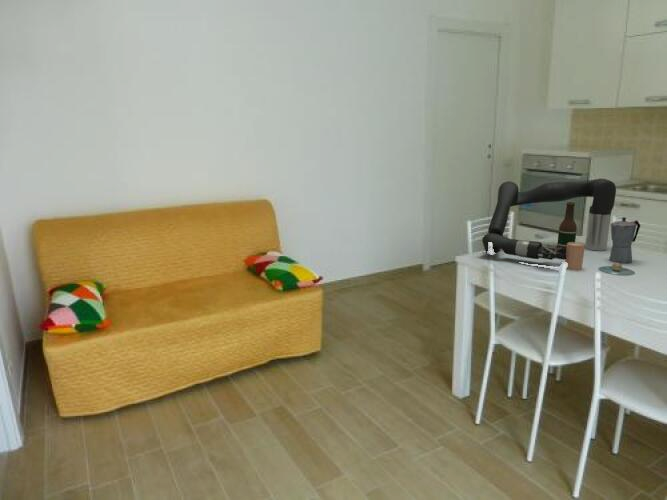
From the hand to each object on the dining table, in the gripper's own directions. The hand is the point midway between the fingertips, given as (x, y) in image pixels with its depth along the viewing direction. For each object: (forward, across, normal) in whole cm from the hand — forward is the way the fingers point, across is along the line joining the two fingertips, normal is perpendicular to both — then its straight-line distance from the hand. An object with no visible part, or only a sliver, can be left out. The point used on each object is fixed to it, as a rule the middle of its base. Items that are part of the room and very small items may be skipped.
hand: (568, 254), depth 204 cm
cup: (+2, 0, -6) cm, 6 cm away
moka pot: (+16, -24, -7) cm, 29 cm away
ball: (+17, -6, -5) cm, 19 cm away
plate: (+17, -6, -6) cm, 19 cm away
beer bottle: (-7, -25, -6) cm, 27 cm away
